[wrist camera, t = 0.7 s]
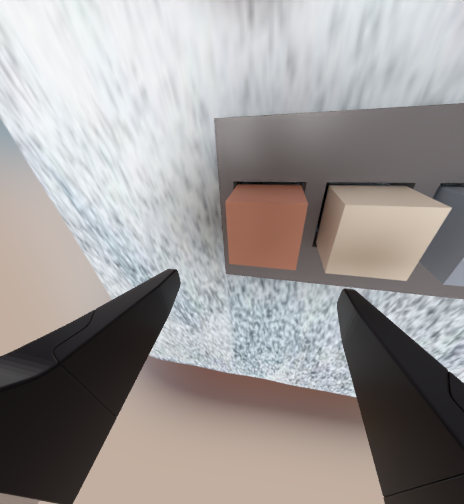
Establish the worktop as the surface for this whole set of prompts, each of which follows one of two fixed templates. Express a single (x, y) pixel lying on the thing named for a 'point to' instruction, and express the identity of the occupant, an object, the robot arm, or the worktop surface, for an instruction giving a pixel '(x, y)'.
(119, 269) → the worktop surface
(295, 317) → the worktop surface
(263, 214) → the brick key
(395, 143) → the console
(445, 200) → the slate key
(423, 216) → the ivory key
